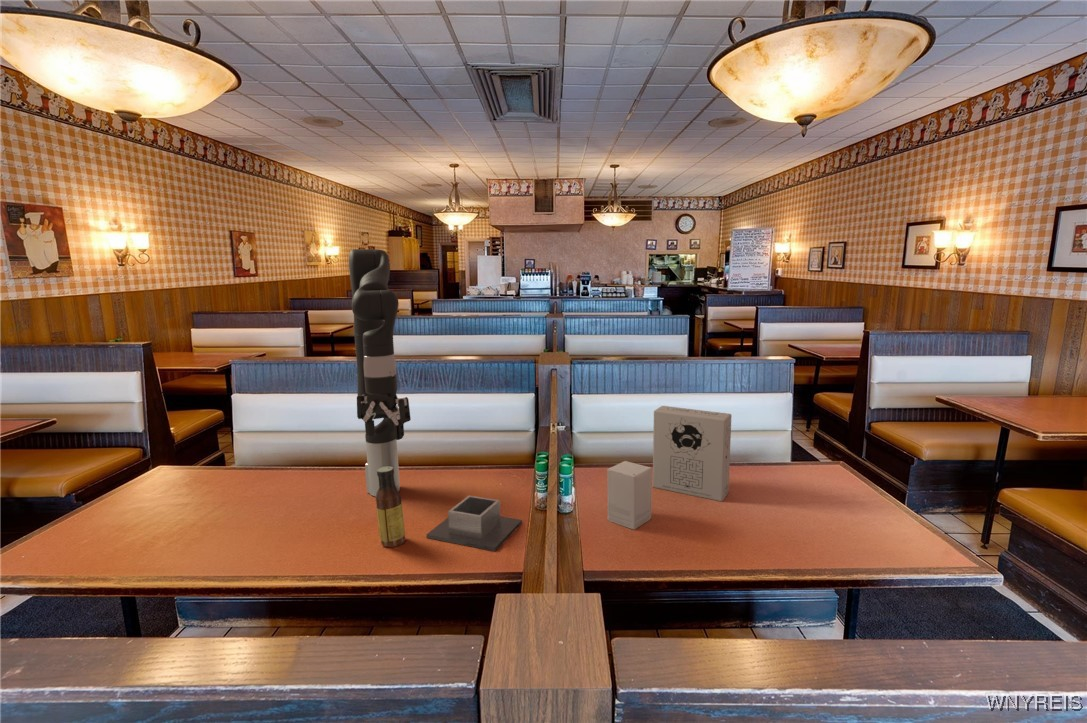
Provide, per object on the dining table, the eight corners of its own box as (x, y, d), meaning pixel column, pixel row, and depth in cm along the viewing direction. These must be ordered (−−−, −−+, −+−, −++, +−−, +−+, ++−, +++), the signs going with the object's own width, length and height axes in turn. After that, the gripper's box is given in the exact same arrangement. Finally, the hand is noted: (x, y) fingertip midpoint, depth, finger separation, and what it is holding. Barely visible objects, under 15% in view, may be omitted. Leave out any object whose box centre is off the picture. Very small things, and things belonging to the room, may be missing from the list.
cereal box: (728, 492, 163) (731, 413, 159) (722, 502, 157) (725, 419, 153) (660, 479, 175) (662, 405, 170) (652, 487, 168) (653, 410, 164)
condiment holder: (426, 537, 139) (425, 512, 138) (458, 512, 153) (457, 489, 152) (495, 551, 131) (494, 525, 130) (522, 523, 146) (521, 499, 145)
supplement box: (652, 519, 147) (653, 467, 144) (634, 530, 140) (634, 476, 138) (624, 509, 153) (625, 459, 151) (606, 520, 147) (606, 468, 144)
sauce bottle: (409, 536, 140) (404, 464, 136) (400, 549, 133) (395, 473, 130) (384, 536, 140) (379, 464, 137) (375, 548, 134) (369, 473, 131)
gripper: (346, 374, 129) (351, 439, 132) (394, 377, 124) (399, 444, 126) (367, 369, 136) (372, 430, 138) (414, 371, 130) (418, 435, 133)
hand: (385, 437), depth 132 cm, fingers open, 8 cm apart
